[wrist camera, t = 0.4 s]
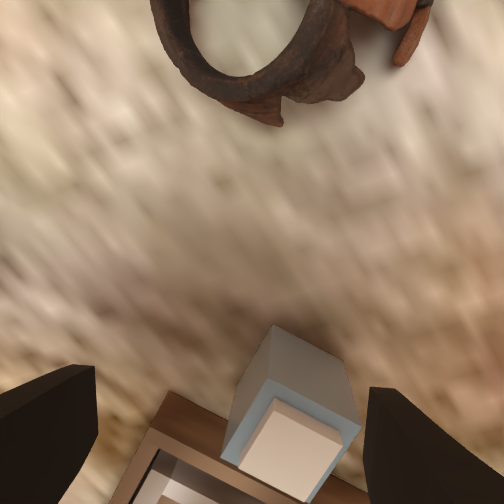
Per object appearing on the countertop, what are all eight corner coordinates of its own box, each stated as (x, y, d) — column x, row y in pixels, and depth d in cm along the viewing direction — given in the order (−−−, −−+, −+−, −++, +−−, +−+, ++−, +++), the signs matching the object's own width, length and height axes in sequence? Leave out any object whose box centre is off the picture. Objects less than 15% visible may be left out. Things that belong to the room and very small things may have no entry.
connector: (342, 360, 20) (366, 441, 14) (303, 421, 21) (310, 521, 15) (272, 323, 20) (266, 389, 14) (236, 386, 21) (216, 472, 15)
